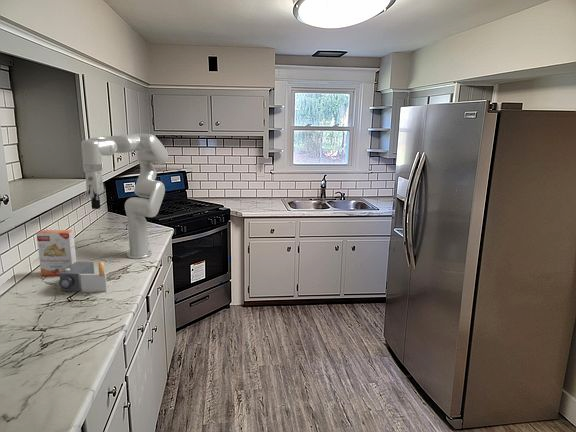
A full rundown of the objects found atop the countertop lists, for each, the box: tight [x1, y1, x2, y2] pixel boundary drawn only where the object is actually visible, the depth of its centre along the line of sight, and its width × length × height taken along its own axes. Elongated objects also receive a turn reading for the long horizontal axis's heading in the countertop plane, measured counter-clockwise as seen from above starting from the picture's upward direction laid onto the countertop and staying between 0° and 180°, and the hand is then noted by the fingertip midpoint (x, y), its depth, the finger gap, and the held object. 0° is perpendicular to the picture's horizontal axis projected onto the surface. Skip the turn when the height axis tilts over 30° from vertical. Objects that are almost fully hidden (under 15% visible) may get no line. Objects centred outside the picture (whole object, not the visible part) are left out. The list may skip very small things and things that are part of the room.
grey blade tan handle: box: [78, 261, 108, 293], centre depth 170 cm, size 11×2×13 cm, turn 96°
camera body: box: [58, 261, 95, 292], centre depth 177 cm, size 17×8×9 cm, turn 1°
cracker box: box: [36, 229, 77, 277], centre depth 188 cm, size 14×6×21 cm, turn 98°
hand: (96, 208), depth 183 cm, fingers closed
